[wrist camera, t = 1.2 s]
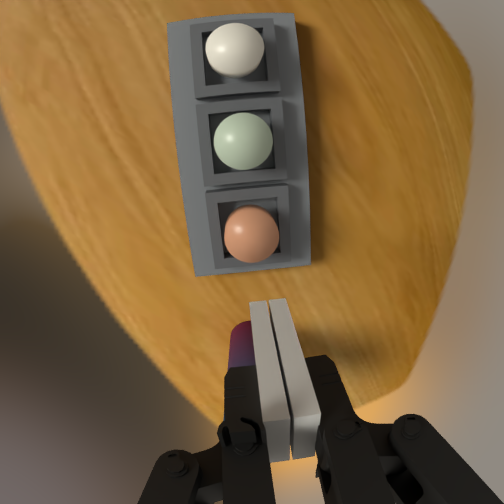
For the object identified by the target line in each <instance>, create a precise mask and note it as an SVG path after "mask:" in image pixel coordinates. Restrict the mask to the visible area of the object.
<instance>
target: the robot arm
mask: <svg viewBox="0 0 504 504" xmlns="http://www.w3.org/2000/svg"><path fill="white" fill-rule="evenodd" d="M249 305H250V314H251V324H252V333H253V343H254V352H255V361H256V365H251V366H240V367H230V368H229V370H228V372H227V374H226V375H225V377H224V389H225V390H224V397H225V399H224V421H223V422H222V423H221V424H220V425H219V428H218V432H217V435H218V437H219V443H218V444H216V445H215V446H214V447H212V448H210V449H207V450H204V451H201V452H198V453H194V454H191V453H189V452H187V451H184V450H171V451H168V452H166V453H164V454H162V455H161V456H160V457H159V458H158V460H157V461H156V463H155V465H154V467H153V470H152V472H151V474H150V477H149V479H148V481H147V483H146V486H145V488H144V490H143V492H142V495H141V497H140V499H139V501H138V504H214V502H217V501H221V500H223V504H276V502H275V495H274V488H273V481H272V474H271V467H270V463H271V462H279V461H286V460H289V459H290V446H291V451H292V457H293V459H299V458H306V457H311V456H315V450H316V454H317V458H318V464H317V469H316V478H317V477H319V479H320V483H321V488H322V492H323V497H324V501H325V504H395V503H396V504H504V503H503V502H502V501H501V500H500V499H499V498H498V497H497V496H496V495H495V493H494V492H493V491H492V490H491V489H490V488H489V487H488V486H487V485H486V484H485V482H484V481H482V479H481V478H480V477H479V476H478V475H477V474H476V473H475V472H474V470H473V469H472V468H471V467H470V466H469V465H468V464H467V463H466V462H465V461H464V460H463V459H462V457H461V456H460V455H459V454H458V453H457V452H456V451H455V450H454V449H453V448H452V447H451V446H450V444H449V443H448V442H447V441H446V440H445V439H444V438H443V437H442V436H441V435H440V434H439V433H438V432H437V430H436V429H435V428H434V427H433V426H432V425H431V424H430V423H429V422H428V421H427V420H426V419H425V418H423V417H422V416H420V415H416V414H406V415H403V416H401V417H399V418H398V419H397V420H396V421H395V422H394V424H374V423H369V422H366V421H364V420H362V419H360V418H359V417H358V416H357V415H356V414H355V412H354V410H353V407H352V405H351V402H350V400H349V397H348V395H347V392H346V390H345V388H344V385H343V383H342V381H341V378H340V375H339V374H338V371H337V368H336V366H335V363H334V362H333V361H332V360H331V359H330V358H329V357H327V356H326V355H320V356H314V357H308V358H304V356H303V352H302V349H301V346H300V343H299V340H298V336H297V333H296V330H295V327H294V324H293V320H292V317H291V314H290V311H289V308H288V305H287V302H286V298H283V299H275V300H269V311H270V317H269V312H268V307H267V303H266V301H256V302H249Z"/></svg>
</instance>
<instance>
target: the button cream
mask: <svg viewBox="0 0 504 504" xmlns="http://www.w3.org/2000/svg"><path fill="white" fill-rule="evenodd" d="M263 53H264V42H263V39H262V37H261V35H260V34H259V33H258V32H257V31H256V30H255V29H254V28H252V27H250V26H248V25H245V24H241V23H230V24H225V25H223V26H220V27H218V28H217V29H215V30H214V31H213V32H212V33H211V34H210V36H209V37H208V39H207V42H206V55H207V58H208V61H209V64H210V66H211V67H212V69H213V70H214V71H215V72H216V73H218V74H219V75H221V76H224V77H227V78H241V77H245V76H247V75H249V74H251V73H252V72H253V71H254V70H255V69H256V68H257V67H258V65H259V63H260V61H261V58H262V56H263Z"/></svg>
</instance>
